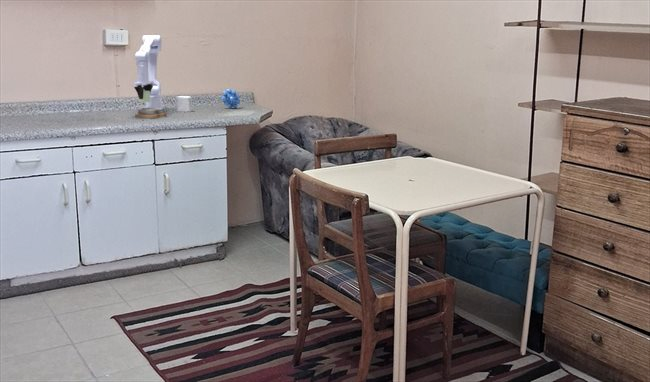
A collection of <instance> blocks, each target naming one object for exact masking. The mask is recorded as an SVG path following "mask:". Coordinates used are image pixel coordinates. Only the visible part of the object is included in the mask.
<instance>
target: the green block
mask: <svg viewBox="0 0 650 382" xmlns="http://www.w3.org/2000/svg"><path fill="white" fill-rule="evenodd" d="M137 101H138V103H145V104H146V102H150V91H145V90H144V91H143V99H139V97H138V96H137Z"/></svg>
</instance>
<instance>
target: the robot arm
mask: <svg viewBox="0 0 650 382" xmlns="http://www.w3.org/2000/svg"><path fill="white" fill-rule="evenodd" d="M161 50H162V37H161V36H160V35H146V34H144V35H143V36H142V45H141V46H140V49H138V51H137V52H136V53H135V62H136V63H135V64H136V67H137V81H135V82H133V83H132V87H133V88H134V89H135V92H136V94H137V98H138V97H139V99H143V91H144V90H145V91H150V102H145V108H150V107H151V108H163V99H162V98H161V97H160V96H161V94H162V87H161V86H162V85H161V83H160V82H159V81H158V80H157V69H158V54H159V53H160V52H161ZM163 109H164V108H163Z"/></svg>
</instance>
